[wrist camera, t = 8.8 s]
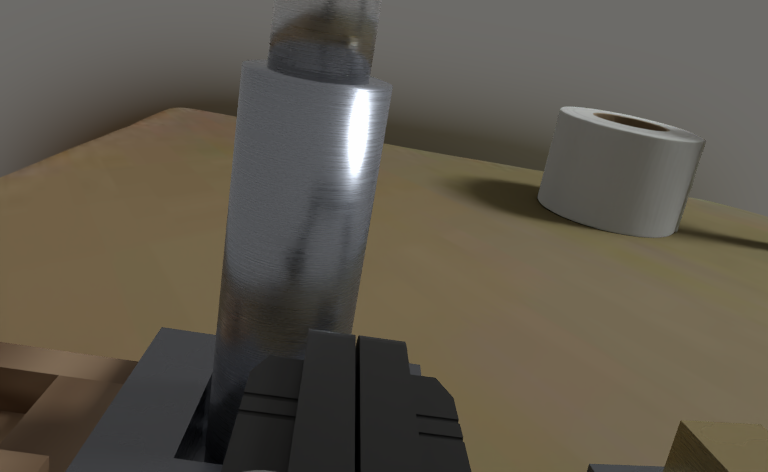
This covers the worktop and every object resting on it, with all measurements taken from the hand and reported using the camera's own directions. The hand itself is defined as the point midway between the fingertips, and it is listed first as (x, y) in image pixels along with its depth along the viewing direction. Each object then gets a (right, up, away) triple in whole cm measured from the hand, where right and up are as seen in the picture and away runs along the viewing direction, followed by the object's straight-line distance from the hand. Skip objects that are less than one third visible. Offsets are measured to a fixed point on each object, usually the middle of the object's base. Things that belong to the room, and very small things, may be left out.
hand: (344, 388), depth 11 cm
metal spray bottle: (-4, -6, +14) cm, 16 cm away
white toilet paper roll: (+26, +5, +69) cm, 74 cm away
